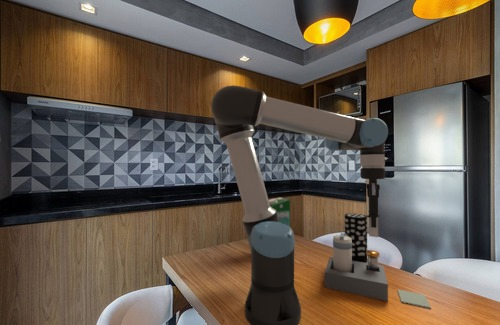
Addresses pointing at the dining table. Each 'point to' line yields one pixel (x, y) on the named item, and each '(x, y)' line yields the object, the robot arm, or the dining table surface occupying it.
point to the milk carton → (281, 209)
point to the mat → (413, 298)
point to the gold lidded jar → (372, 260)
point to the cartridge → (342, 253)
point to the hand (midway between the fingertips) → (373, 236)
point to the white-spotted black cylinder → (357, 235)
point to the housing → (358, 280)
